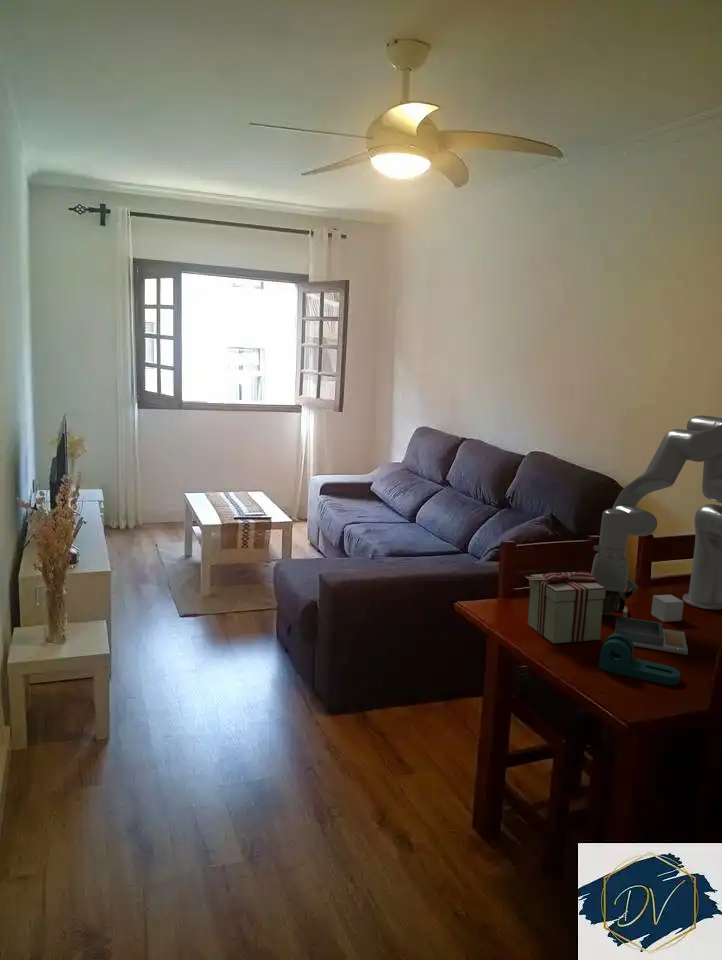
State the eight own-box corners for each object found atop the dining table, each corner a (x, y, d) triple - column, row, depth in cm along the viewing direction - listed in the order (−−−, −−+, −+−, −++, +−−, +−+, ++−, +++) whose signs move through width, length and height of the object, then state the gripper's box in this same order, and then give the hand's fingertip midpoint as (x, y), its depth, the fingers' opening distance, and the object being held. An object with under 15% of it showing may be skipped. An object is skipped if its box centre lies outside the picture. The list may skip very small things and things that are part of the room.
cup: (590, 616, 212) (592, 590, 210) (594, 608, 218) (597, 583, 217) (616, 621, 208) (619, 595, 207) (620, 613, 215) (623, 588, 213)
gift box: (563, 616, 211) (568, 559, 208) (604, 640, 194) (611, 579, 191) (513, 621, 205) (518, 563, 202) (551, 647, 188) (557, 584, 185)
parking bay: (585, 605, 221) (585, 600, 220) (626, 611, 217) (627, 606, 216) (583, 618, 210) (583, 613, 209) (626, 625, 206) (627, 620, 205)
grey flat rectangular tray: (615, 624, 206) (616, 614, 205) (683, 635, 200) (685, 625, 199) (614, 642, 193) (615, 632, 192) (687, 654, 187) (688, 643, 186)
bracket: (598, 669, 176) (601, 639, 175) (603, 659, 182) (606, 630, 181) (677, 688, 168) (681, 657, 167) (680, 677, 174) (684, 646, 173)
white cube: (668, 613, 217) (671, 594, 216) (681, 621, 211) (683, 601, 210) (650, 614, 215) (653, 595, 214) (663, 621, 210) (665, 602, 208)
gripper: (580, 550, 209) (574, 608, 212) (644, 559, 203) (637, 618, 207) (581, 544, 216) (576, 600, 219) (643, 552, 210) (636, 609, 213)
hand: (605, 608), depth 213 cm, fingers open, 7 cm apart
